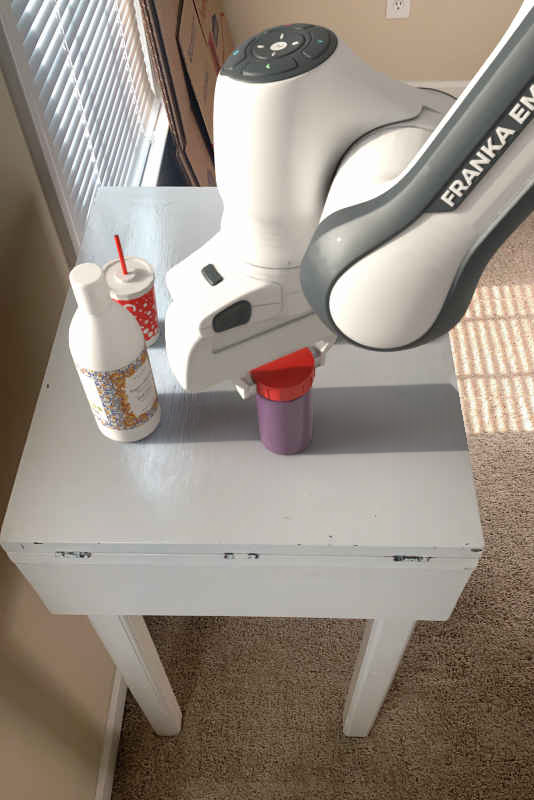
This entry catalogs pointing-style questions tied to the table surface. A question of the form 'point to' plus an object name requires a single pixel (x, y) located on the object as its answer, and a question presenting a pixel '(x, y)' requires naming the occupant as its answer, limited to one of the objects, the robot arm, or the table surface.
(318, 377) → the table surface
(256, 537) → the table surface
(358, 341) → the robot arm
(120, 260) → the beverage cup
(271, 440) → the jar
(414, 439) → the table surface
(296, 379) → the lid
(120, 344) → the bath foam
